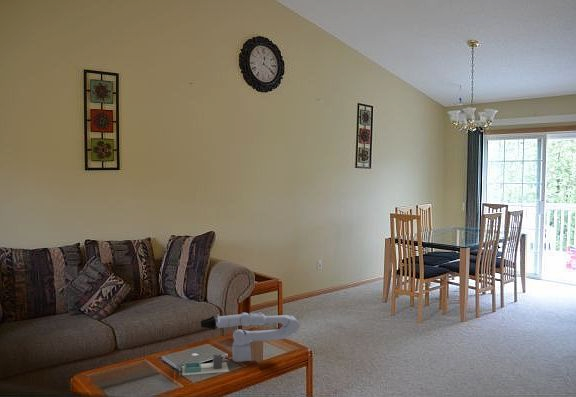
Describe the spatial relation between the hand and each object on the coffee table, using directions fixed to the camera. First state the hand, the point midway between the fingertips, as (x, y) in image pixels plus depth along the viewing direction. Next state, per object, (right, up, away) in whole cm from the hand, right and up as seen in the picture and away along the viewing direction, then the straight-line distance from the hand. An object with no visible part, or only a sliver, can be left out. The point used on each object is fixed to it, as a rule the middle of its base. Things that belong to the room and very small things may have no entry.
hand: (200, 324), depth 238 cm
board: (+4, -21, -8) cm, 23 cm away
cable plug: (+10, -20, -7) cm, 23 cm away
